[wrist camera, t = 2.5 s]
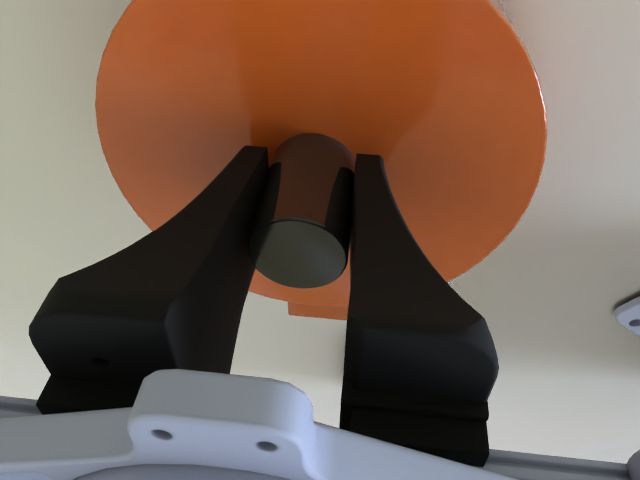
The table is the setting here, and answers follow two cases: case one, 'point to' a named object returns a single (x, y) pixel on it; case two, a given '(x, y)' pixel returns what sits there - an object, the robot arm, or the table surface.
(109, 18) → the table surface
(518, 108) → the pan lid
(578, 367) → the table surface
